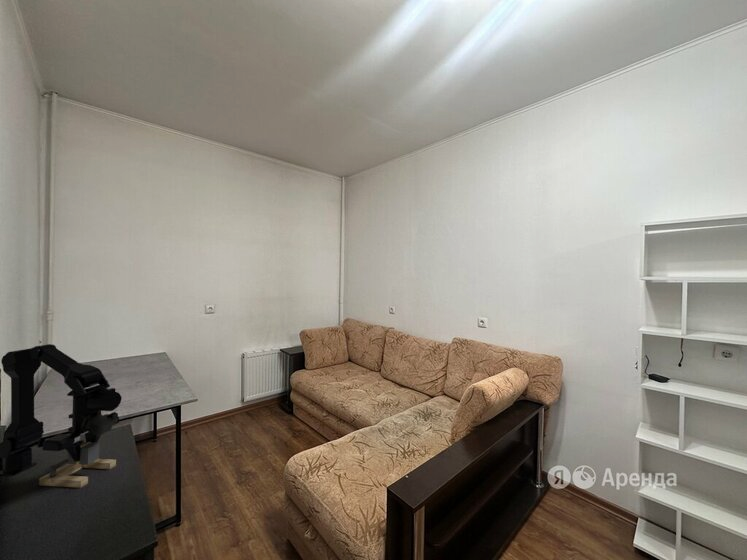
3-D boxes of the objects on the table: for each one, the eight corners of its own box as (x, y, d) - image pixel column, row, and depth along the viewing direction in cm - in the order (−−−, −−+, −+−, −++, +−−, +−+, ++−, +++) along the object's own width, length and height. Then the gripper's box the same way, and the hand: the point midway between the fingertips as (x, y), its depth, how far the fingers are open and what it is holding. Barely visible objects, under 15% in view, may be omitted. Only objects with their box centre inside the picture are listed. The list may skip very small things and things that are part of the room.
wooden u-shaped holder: (39, 485, 90) (39, 467, 90) (78, 463, 101) (78, 448, 101) (80, 487, 89) (81, 470, 89) (115, 465, 100) (116, 450, 100)
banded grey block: (87, 464, 93) (87, 448, 93) (67, 463, 93) (67, 447, 93) (99, 458, 96) (99, 442, 96) (80, 457, 97) (80, 441, 97)
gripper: (76, 423, 85) (74, 478, 85) (133, 398, 104) (133, 443, 103) (41, 421, 86) (40, 475, 86) (105, 397, 105) (104, 442, 104)
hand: (83, 457), depth 95 cm, fingers closed on banded grey block, 4 cm apart
